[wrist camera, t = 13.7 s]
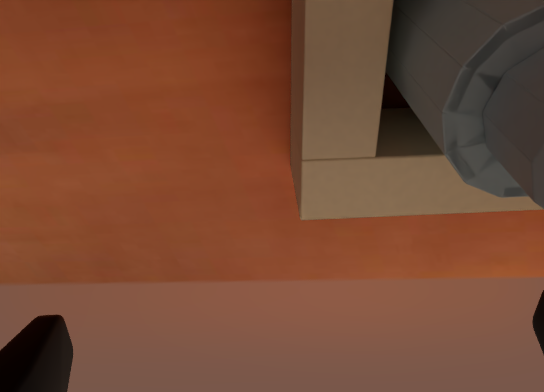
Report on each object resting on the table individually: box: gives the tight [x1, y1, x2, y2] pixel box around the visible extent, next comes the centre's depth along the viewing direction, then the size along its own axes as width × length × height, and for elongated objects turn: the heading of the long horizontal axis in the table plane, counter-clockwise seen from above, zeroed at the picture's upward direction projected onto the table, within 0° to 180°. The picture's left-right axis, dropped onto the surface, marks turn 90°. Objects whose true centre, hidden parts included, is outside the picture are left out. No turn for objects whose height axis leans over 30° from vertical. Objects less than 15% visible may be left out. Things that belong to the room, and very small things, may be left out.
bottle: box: [385, 0, 544, 209], centre depth 15 cm, size 5×5×10 cm
